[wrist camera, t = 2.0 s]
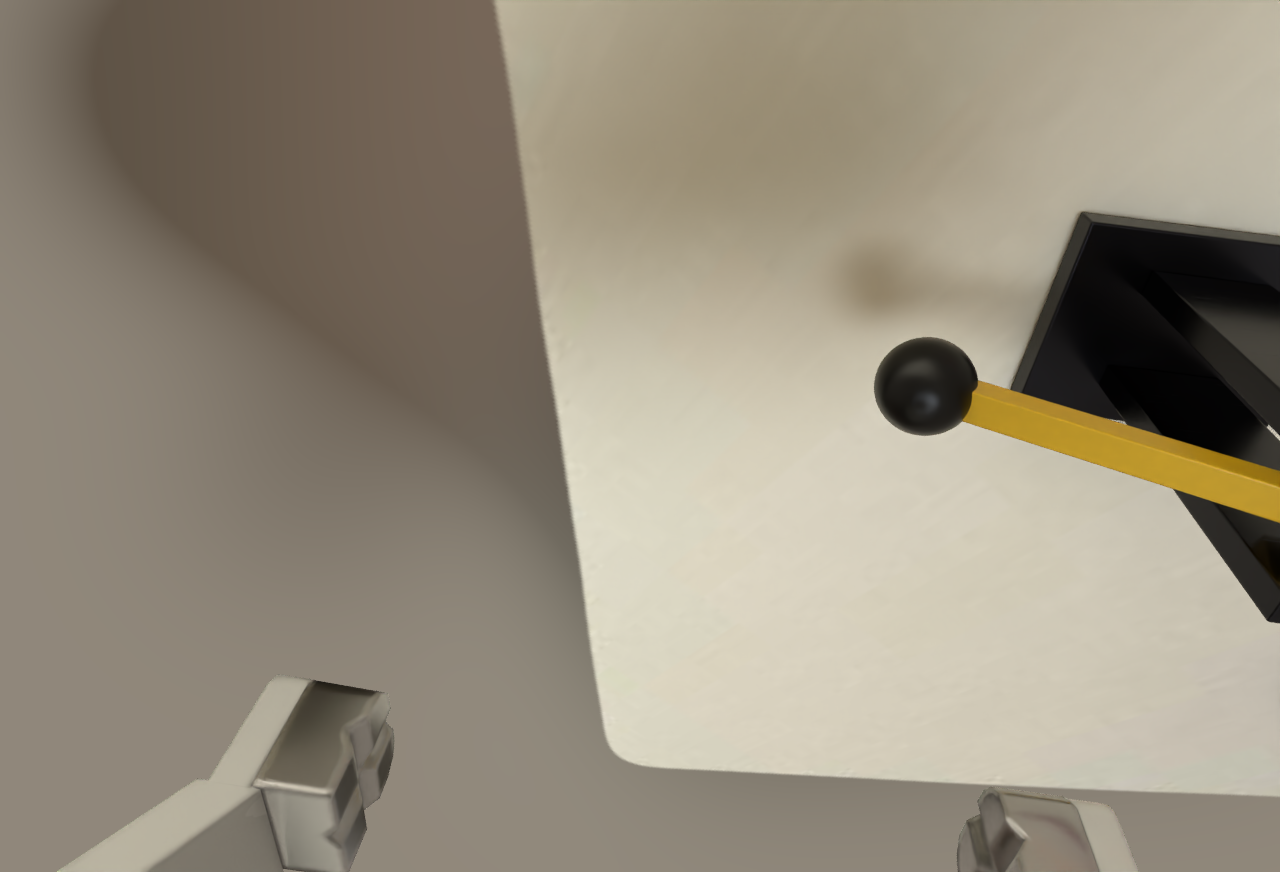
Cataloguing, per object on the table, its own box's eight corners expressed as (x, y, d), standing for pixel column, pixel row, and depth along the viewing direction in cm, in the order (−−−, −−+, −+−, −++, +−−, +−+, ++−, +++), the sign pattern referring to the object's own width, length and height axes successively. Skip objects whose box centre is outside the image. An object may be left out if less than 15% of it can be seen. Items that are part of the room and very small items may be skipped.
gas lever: (877, 392, 29) (852, 433, 27) (901, 311, 28) (876, 347, 25) (1375, 552, 24) (1400, 620, 22) (1445, 464, 22) (1480, 528, 20)
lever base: (1008, 392, 35) (1139, 645, 23) (1080, 211, 31) (1288, 408, 19) (1245, 424, 35) (1501, 697, 23) (1353, 245, 30) (1739, 468, 19)
